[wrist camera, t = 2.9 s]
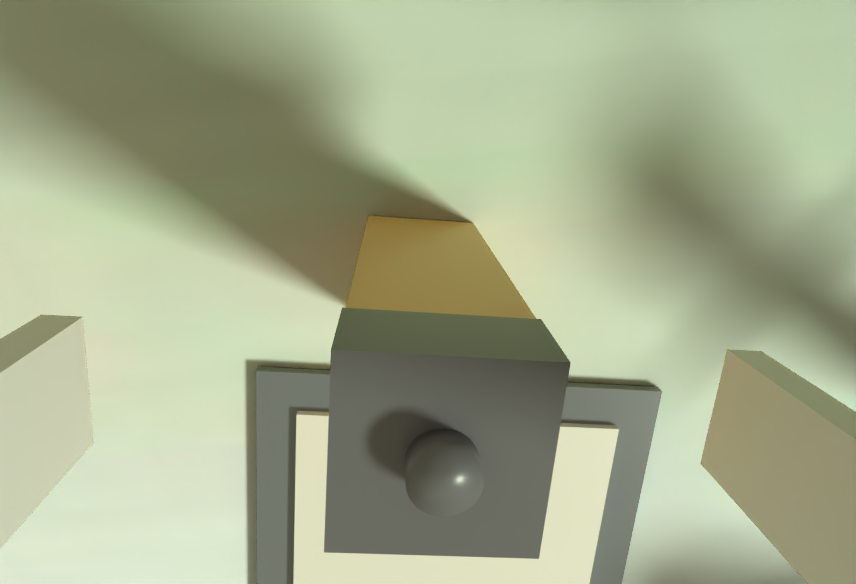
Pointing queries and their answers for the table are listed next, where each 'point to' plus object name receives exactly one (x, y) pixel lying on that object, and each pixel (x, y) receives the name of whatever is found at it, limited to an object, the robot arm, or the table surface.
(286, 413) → the grey framed cream board
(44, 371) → the robot arm
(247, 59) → the table surface
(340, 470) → the tan grey knobbed box
